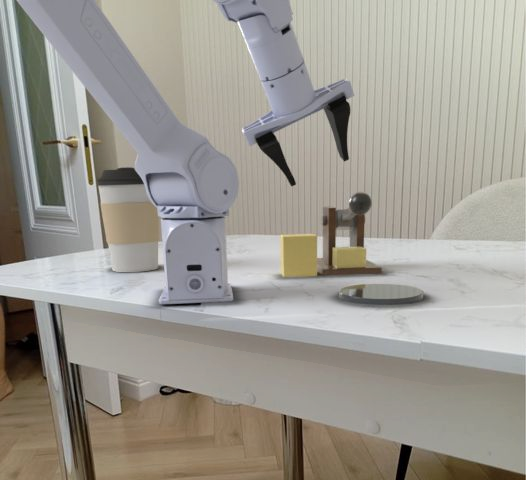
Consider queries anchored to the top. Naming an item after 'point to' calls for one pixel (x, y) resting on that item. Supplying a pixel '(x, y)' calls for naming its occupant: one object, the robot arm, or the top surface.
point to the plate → (381, 294)
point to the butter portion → (298, 255)
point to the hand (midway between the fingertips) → (318, 170)
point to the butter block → (349, 257)
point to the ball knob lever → (353, 210)
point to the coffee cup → (129, 221)
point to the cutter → (330, 241)
